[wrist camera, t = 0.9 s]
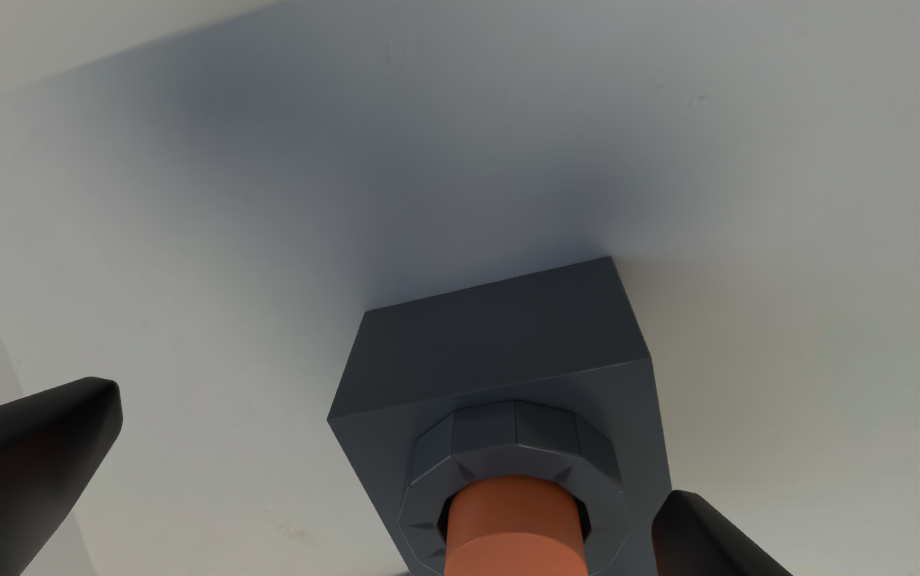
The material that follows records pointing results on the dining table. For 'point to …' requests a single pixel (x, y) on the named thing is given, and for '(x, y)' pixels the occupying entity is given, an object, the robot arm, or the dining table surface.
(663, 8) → the dining table surface
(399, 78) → the dining table surface
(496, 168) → the dining table surface
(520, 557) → the button
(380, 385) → the control block
